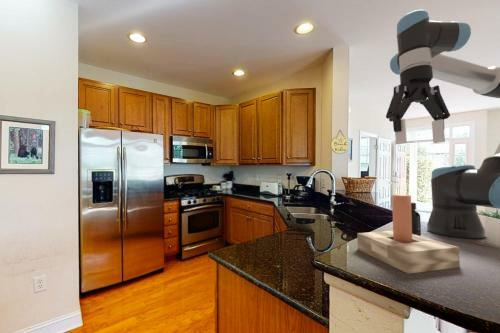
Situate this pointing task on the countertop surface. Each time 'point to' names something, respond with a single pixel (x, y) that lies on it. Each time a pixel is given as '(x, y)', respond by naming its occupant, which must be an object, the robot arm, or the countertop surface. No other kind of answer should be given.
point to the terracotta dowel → (402, 218)
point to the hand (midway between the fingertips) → (420, 143)
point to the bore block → (409, 252)
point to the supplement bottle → (415, 220)
